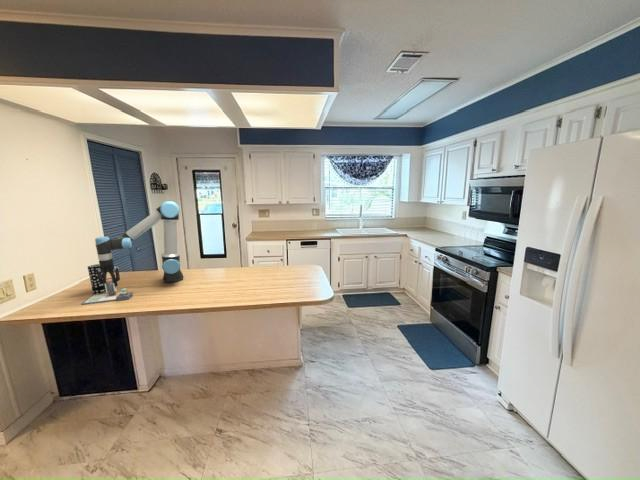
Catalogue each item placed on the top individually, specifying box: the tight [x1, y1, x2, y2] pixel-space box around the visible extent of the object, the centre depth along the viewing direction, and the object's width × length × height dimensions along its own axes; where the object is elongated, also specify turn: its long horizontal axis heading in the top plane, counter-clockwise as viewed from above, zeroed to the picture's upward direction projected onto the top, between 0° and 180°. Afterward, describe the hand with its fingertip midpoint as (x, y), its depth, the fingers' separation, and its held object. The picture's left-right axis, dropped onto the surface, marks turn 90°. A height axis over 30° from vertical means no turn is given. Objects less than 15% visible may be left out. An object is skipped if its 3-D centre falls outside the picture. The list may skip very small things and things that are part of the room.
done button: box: [119, 287, 128, 295], centre depth 183 cm, size 4×4×4 cm
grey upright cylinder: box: [106, 277, 117, 296], centre depth 187 cm, size 4×4×12 cm
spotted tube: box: [87, 263, 106, 295], centre depth 195 cm, size 8×8×20 cm
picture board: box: [81, 291, 122, 306], centre depth 185 cm, size 20×15×1 cm
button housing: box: [116, 291, 134, 302], centre depth 184 cm, size 7×7×3 cm
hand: (111, 291), depth 188 cm, fingers closed on grey upright cylinder, 4 cm apart
